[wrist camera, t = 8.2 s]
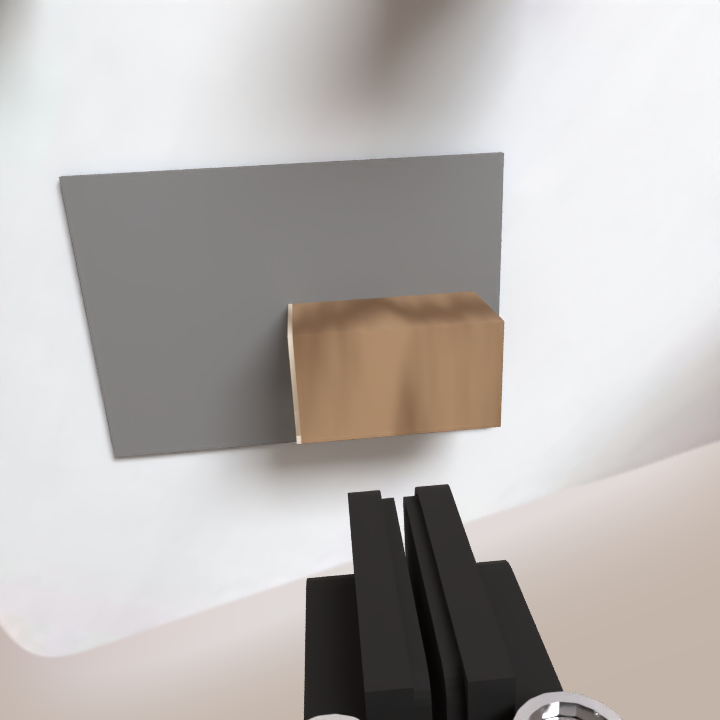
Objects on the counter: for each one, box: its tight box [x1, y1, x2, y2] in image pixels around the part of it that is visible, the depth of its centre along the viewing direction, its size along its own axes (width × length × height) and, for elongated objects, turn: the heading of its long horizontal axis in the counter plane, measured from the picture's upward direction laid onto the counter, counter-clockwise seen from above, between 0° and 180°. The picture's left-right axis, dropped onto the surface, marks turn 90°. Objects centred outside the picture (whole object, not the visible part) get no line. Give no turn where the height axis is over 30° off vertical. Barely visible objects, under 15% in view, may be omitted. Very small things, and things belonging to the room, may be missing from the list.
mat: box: [59, 152, 504, 457], centre depth 33 cm, size 20×14×1 cm
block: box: [288, 291, 504, 444], centre depth 31 cm, size 5×5×9 cm
